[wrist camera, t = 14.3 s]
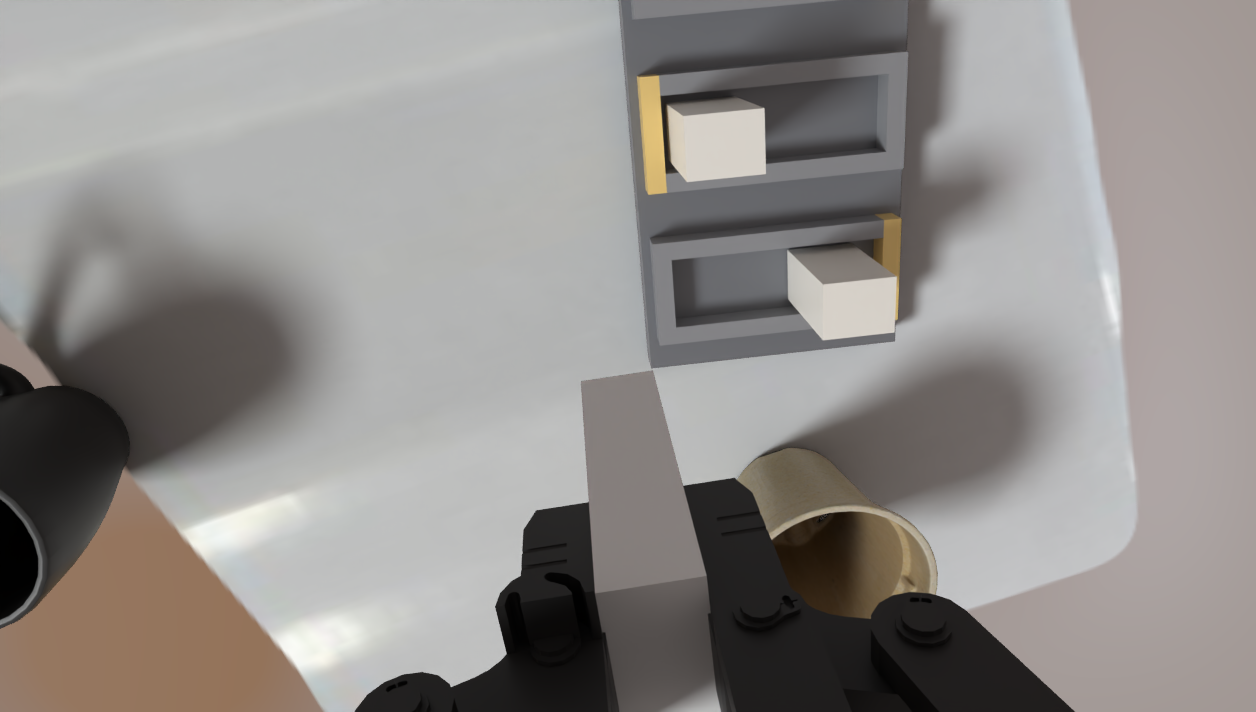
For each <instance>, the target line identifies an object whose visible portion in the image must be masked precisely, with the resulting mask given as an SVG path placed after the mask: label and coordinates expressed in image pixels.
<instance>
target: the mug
mask: <svg viewBox="0 0 1256 712" xmlns="http://www.w3.org/2000/svg"><path fill="white" fill-rule="evenodd" d="M129 447H130V442H129V437H128V433H127V430H126V428H125V426H124V423H123V421H122V420H121V418H120V417H119V416H118V414H117V413H116V412H115V411H114V410H113V409H112V408H111V407H110V406H109V405H108V404H107V403H105V402H104V401H103V400H101V399H100V398H98V397H96V396H95V395H93V394H91V393H88V392H86V391H83V390H80V389H77V388H72V387H67V386H47V387H42V388H37V389H34V388H33V386H32V384H31V383H30V382H29V381H28V380H27V379H26V377H25V376H23V375H22V374H21V373H19V372H18V371H16V370H15V369H13V368H10V367H8V366H5V365H3V364H0V629H1V628H3V627H5V626H7V625H9V624H12V623H14V622H16V621H18V620H20V619H21V618H23V617H24V616H25V615H26V614H28V613H29V612H30V611H32V610H33V609H34V608H35V607H36V606H37V605H38V604H39V603H40V601H42V599H43V598H44V597H45V596H46V595H47V594H48V593H49V592H50V591H51V589H52V588H53V587H54V586H55V585H56V584H57V583H58V582H59V581H60V579H61V578H62V577H63V576H64V575H65V574H66V573H67V571H68V570H69V569H70V568H71V567H72V566H73V565H74V563H75V562H76V561H77V559H78V558H79V557H80V555H81V554H82V553H83V551H84V550H85V549H86V547H87V546H88V544H89V543H90V541H91V540H92V538H93V537H94V535H95V533H96V532H97V530H98V528H99V526H100V525H101V523H102V521H103V519H104V517H105V515H106V513H107V511H108V509H109V506H110V504H111V502H112V499H113V496H114V494H115V491H116V488H117V485H118V482H119V479H120V477H121V473H122V470H123V468H124V466H125V464H126V461H127V459H128V456H129Z"/></svg>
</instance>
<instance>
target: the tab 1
mask: <svg viewBox="0 0 1256 712" xmlns="http://www.w3.org/2000/svg"><path fill="white" fill-rule="evenodd" d="M665 111H666V126H667V141H668V156H669V161H670V162H671V163H672V165H673V166H674V167H675V168H676V169H677V171H678V172H679V173H680V174H681V175H682V177H683V178H684V179H685V180H686V181H687V182H694V181H704V180H713V179H723V178H733V177H743V176H753V175H762V174H766V152H765V108H763V107H760V106H758V105H755V104H753V103H750V102H748V101H745V100H743V99H740V98H738V97H735V96H733V97H722V98H712V99H702V100H692V101H682V102H671V103H665Z"/></svg>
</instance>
